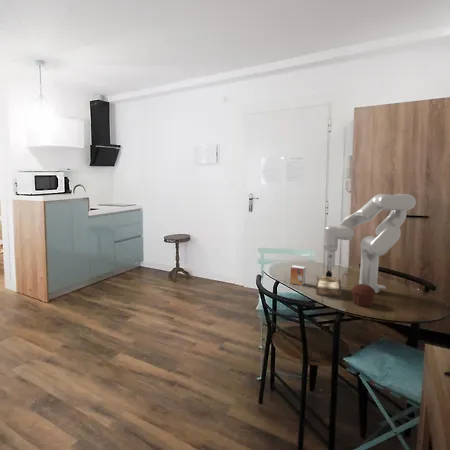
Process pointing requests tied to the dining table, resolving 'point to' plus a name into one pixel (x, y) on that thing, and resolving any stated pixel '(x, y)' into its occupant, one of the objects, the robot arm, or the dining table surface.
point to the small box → (297, 275)
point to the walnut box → (329, 290)
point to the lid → (328, 282)
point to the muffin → (363, 295)
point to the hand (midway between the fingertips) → (328, 278)
